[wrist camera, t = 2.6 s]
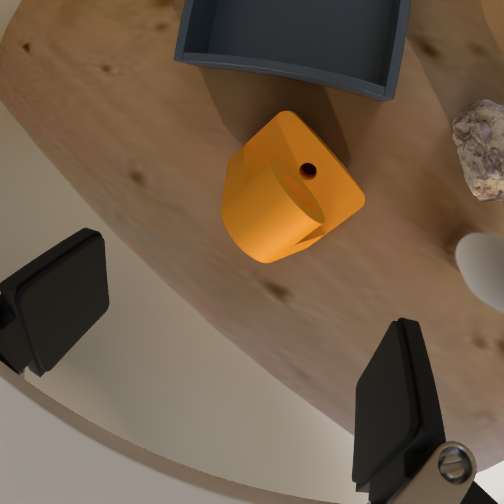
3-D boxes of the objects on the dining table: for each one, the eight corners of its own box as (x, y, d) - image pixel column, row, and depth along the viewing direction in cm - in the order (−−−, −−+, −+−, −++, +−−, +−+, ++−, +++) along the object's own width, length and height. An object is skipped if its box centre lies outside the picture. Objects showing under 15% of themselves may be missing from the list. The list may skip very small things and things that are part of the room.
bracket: (366, 193, 28) (383, 244, 18) (309, 236, 32) (293, 304, 21) (291, 106, 27) (262, 103, 16) (237, 156, 30) (181, 185, 20)
